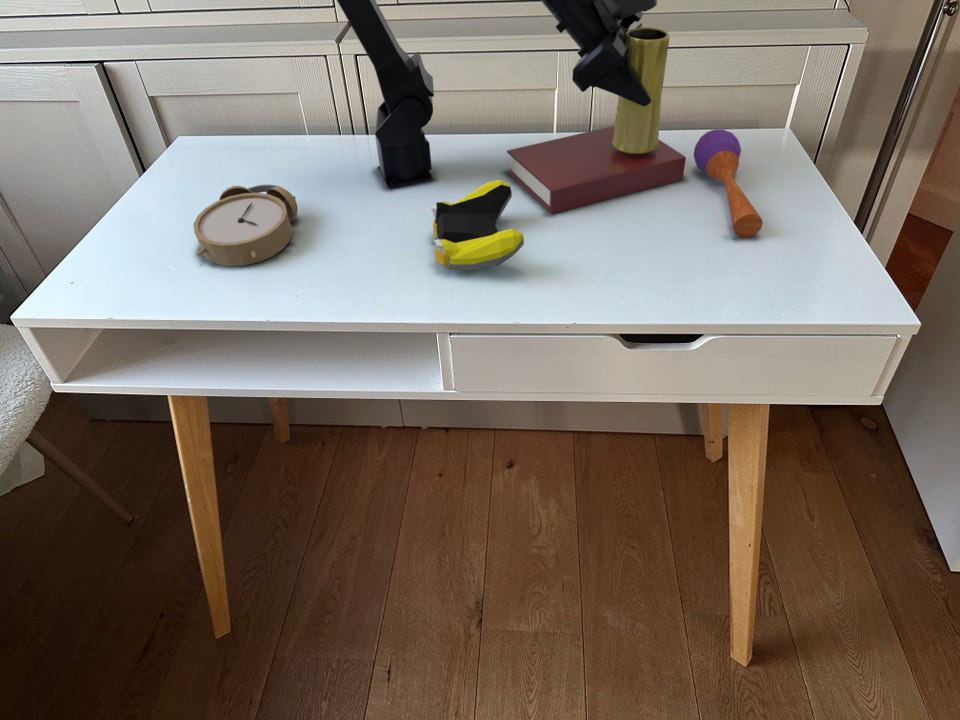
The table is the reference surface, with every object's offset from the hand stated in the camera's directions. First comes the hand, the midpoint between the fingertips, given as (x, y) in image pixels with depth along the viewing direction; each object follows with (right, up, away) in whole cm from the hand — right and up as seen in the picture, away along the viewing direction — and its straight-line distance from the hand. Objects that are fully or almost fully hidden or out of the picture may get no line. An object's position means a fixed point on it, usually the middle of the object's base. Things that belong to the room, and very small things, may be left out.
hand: (651, 95), depth 92 cm
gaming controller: (-22, -21, -6) cm, 31 cm away
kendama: (+10, -13, +1) cm, 16 cm away
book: (-6, -8, +7) cm, 13 cm away
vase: (-1, -5, +5) cm, 7 cm away
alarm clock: (-51, -18, -1) cm, 54 cm away
